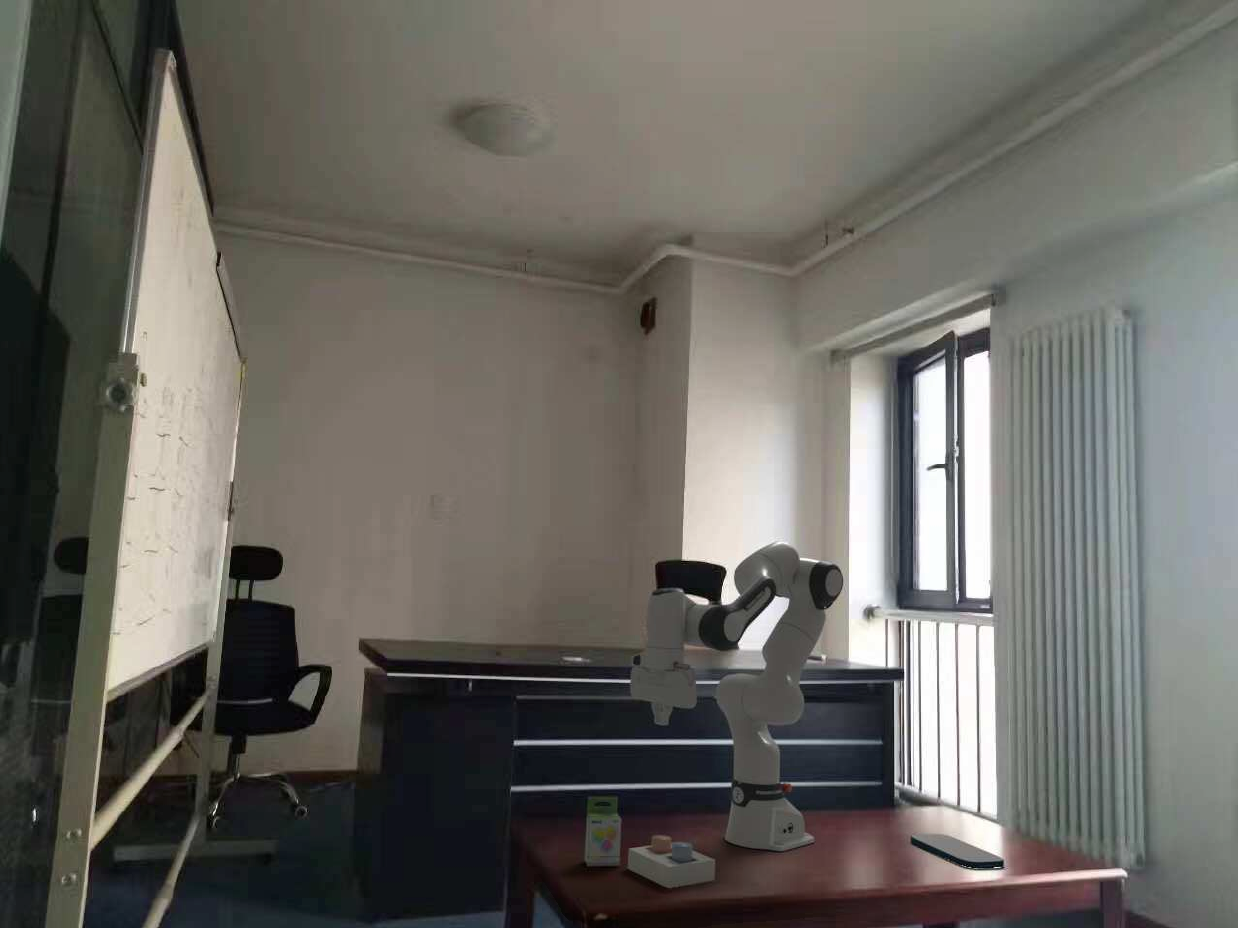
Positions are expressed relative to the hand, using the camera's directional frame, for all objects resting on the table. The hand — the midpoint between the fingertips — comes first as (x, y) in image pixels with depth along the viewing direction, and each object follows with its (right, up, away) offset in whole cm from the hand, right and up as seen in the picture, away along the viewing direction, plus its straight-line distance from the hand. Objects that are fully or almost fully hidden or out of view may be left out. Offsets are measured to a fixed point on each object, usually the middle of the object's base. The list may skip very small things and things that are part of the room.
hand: (661, 724), depth 196 cm
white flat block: (+1, -28, -12) cm, 30 cm away
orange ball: (0, -26, -9) cm, 27 cm away
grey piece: (+4, -25, -14) cm, 29 cm away
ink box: (-13, -28, -7) cm, 32 cm away
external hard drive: (+71, -36, +16) cm, 82 cm away
